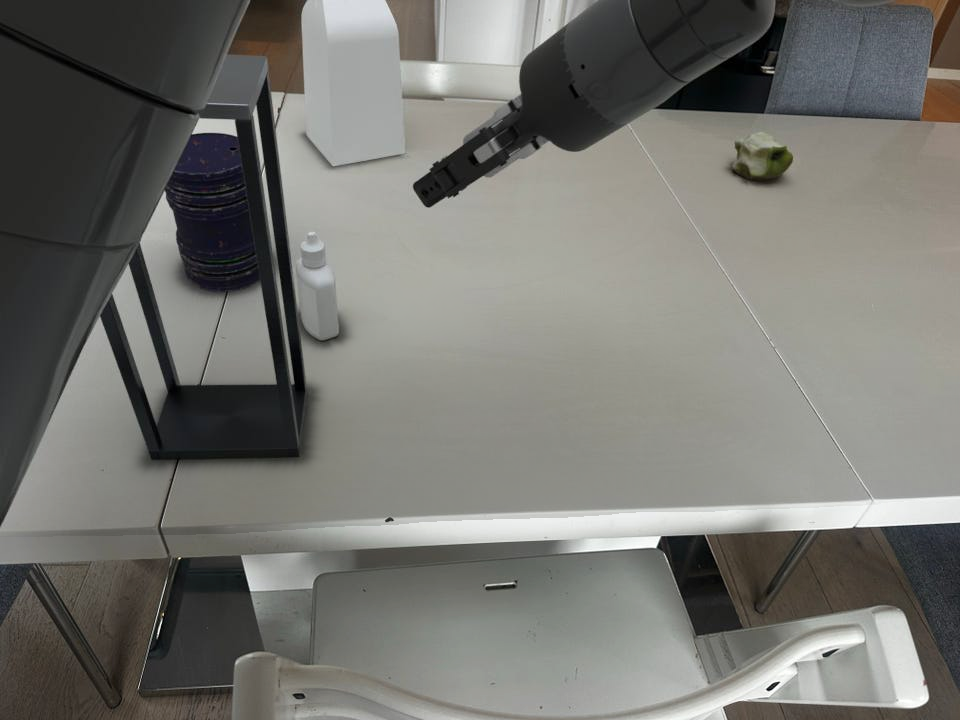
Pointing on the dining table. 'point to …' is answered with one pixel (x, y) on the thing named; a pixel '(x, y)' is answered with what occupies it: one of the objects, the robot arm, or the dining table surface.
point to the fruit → (761, 157)
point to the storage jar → (213, 214)
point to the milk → (352, 80)
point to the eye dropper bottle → (317, 290)
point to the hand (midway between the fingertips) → (450, 175)
